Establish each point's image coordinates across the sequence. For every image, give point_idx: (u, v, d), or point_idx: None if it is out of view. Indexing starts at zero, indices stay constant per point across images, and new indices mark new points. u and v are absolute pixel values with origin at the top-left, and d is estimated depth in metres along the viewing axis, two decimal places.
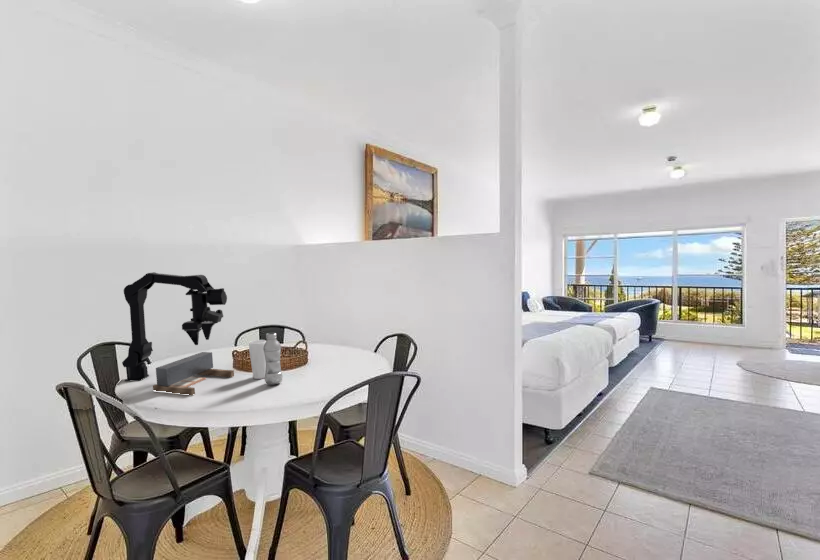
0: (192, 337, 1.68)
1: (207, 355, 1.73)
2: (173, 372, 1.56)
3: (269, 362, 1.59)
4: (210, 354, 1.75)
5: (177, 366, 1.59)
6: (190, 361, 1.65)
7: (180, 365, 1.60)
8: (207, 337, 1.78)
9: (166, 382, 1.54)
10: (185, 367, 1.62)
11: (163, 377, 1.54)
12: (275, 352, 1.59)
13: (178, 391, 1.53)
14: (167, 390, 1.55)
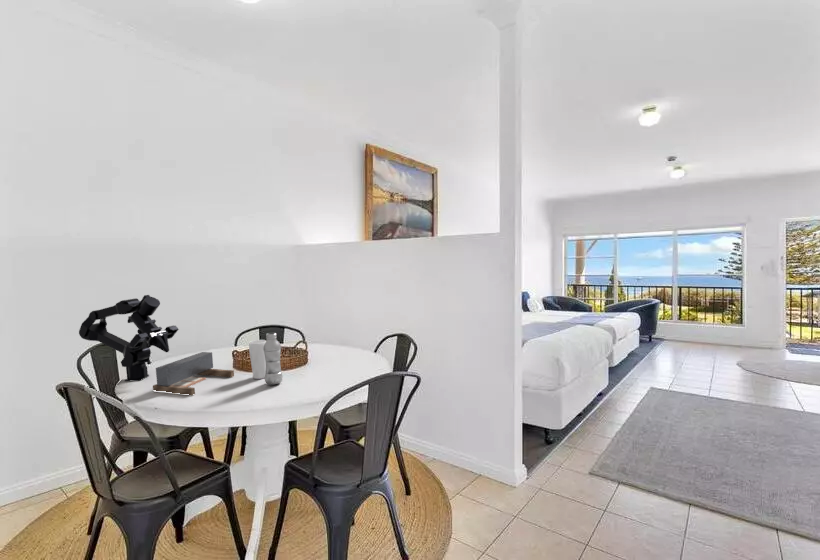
0: None
1: (207, 355, 1.73)
2: (173, 372, 1.56)
3: (269, 362, 1.59)
4: (210, 354, 1.75)
5: (177, 366, 1.59)
6: (190, 361, 1.65)
7: (180, 365, 1.60)
8: None
9: (166, 382, 1.54)
10: (185, 367, 1.62)
11: (163, 377, 1.54)
12: (275, 352, 1.59)
13: (178, 391, 1.53)
14: (167, 390, 1.55)
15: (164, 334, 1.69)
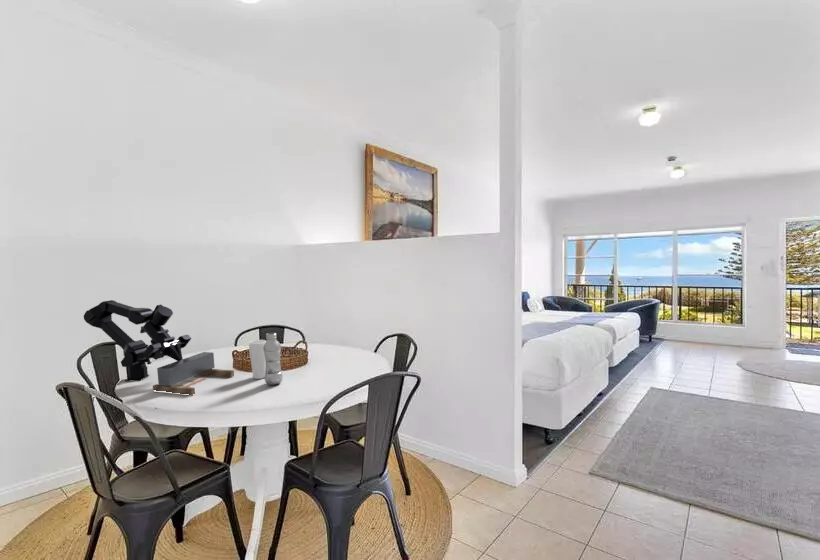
0: None
1: (208, 355, 1.73)
2: (174, 372, 1.56)
3: (269, 362, 1.59)
4: (211, 354, 1.75)
5: (179, 366, 1.58)
6: (191, 361, 1.64)
7: (181, 365, 1.60)
8: None
9: (167, 382, 1.54)
10: (187, 367, 1.62)
11: (165, 377, 1.54)
12: (275, 352, 1.59)
13: (178, 391, 1.53)
14: (167, 390, 1.55)
15: (177, 344, 1.67)
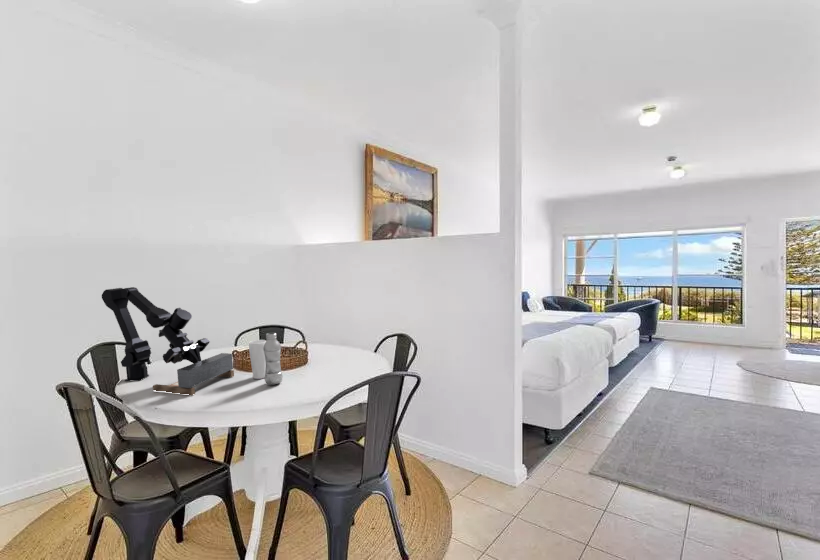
0: None
1: (227, 356, 1.70)
2: (194, 374, 1.54)
3: (269, 362, 1.59)
4: (230, 355, 1.72)
5: (199, 367, 1.56)
6: (211, 362, 1.62)
7: (201, 367, 1.57)
8: None
9: (188, 384, 1.51)
10: (206, 368, 1.59)
11: (185, 379, 1.52)
12: (275, 352, 1.59)
13: (178, 391, 1.53)
14: (167, 390, 1.55)
15: (196, 348, 1.65)
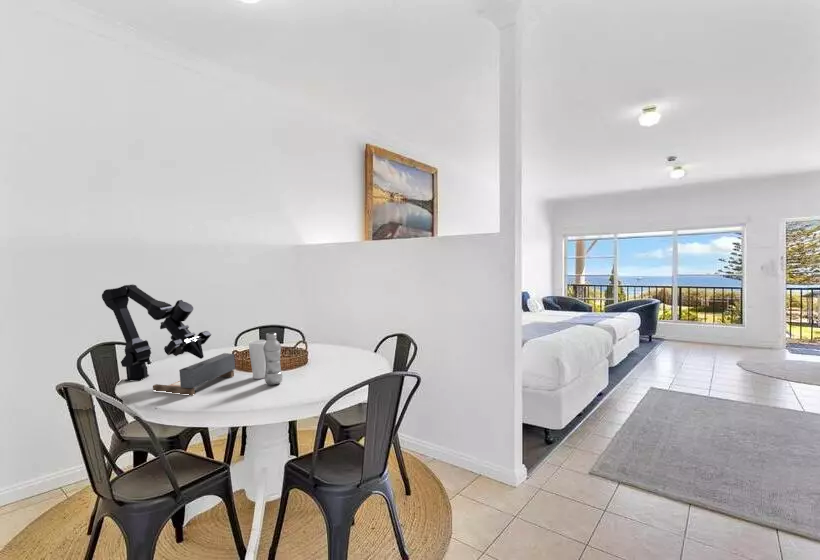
0: None
1: (229, 356, 1.70)
2: (196, 374, 1.53)
3: (269, 362, 1.59)
4: (232, 355, 1.72)
5: (201, 368, 1.56)
6: (213, 363, 1.61)
7: (203, 367, 1.57)
8: None
9: (190, 384, 1.51)
10: (209, 368, 1.59)
11: (187, 379, 1.51)
12: (275, 352, 1.59)
13: (178, 391, 1.53)
14: (167, 390, 1.55)
15: (198, 340, 1.64)
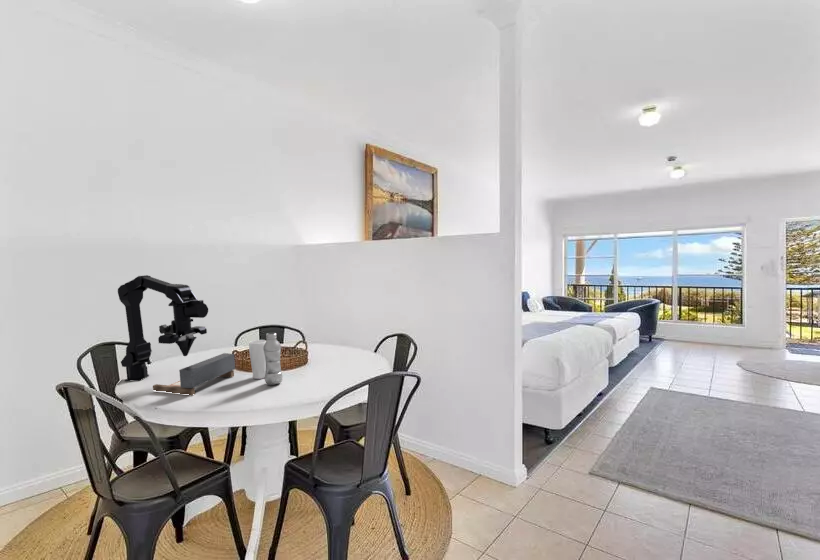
0: None
1: (229, 356, 1.70)
2: (196, 374, 1.53)
3: (269, 362, 1.59)
4: (232, 355, 1.72)
5: (201, 368, 1.56)
6: (213, 363, 1.61)
7: (203, 367, 1.57)
8: None
9: (190, 384, 1.51)
10: (209, 368, 1.59)
11: (187, 379, 1.51)
12: (275, 352, 1.59)
13: (178, 391, 1.53)
14: (167, 390, 1.55)
15: (192, 339, 1.65)
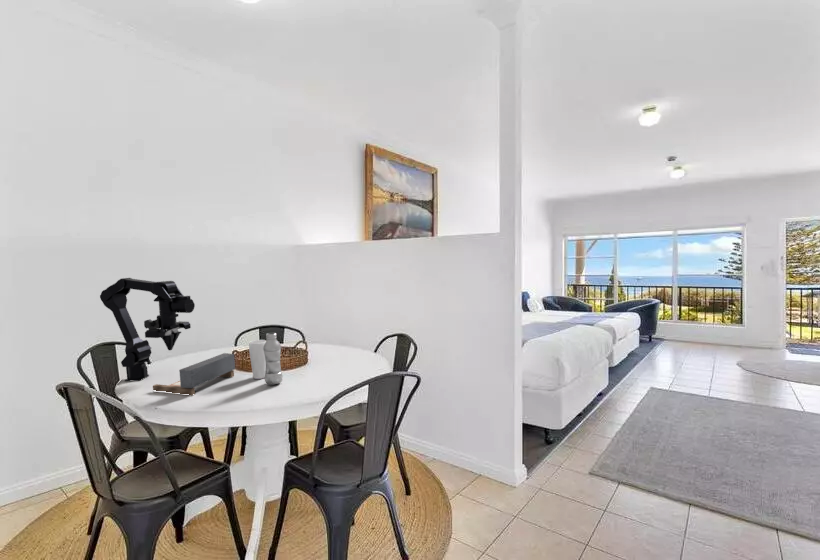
0: None
1: (229, 356, 1.70)
2: (196, 374, 1.53)
3: (269, 362, 1.59)
4: (232, 355, 1.72)
5: (201, 368, 1.56)
6: (213, 363, 1.61)
7: (203, 367, 1.57)
8: None
9: (190, 384, 1.51)
10: (209, 368, 1.59)
11: (187, 379, 1.51)
12: (275, 352, 1.59)
13: (178, 391, 1.53)
14: (167, 390, 1.55)
15: (177, 334, 1.70)
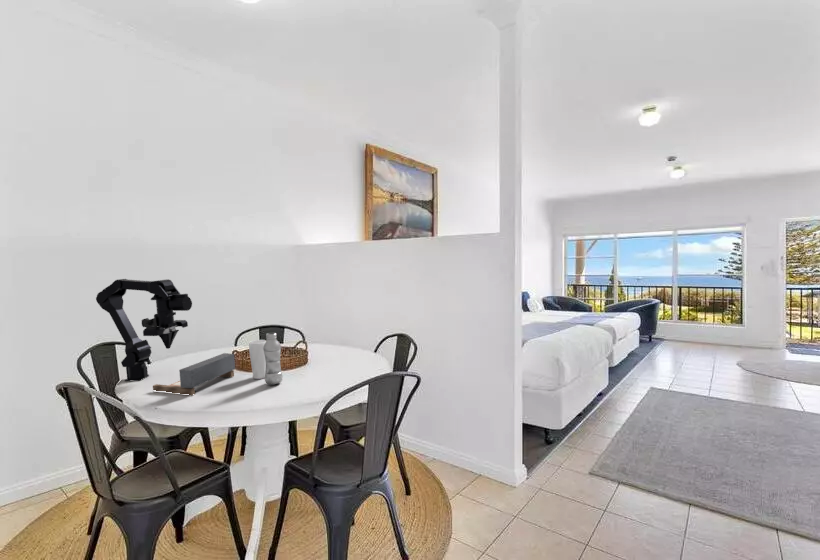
0: None
1: (229, 356, 1.70)
2: (196, 374, 1.53)
3: (269, 362, 1.59)
4: (232, 355, 1.72)
5: (201, 368, 1.56)
6: (213, 363, 1.61)
7: (203, 367, 1.57)
8: None
9: (190, 384, 1.51)
10: (209, 368, 1.59)
11: (187, 379, 1.51)
12: (275, 352, 1.59)
13: (178, 391, 1.53)
14: (167, 390, 1.55)
15: (175, 332, 1.71)
